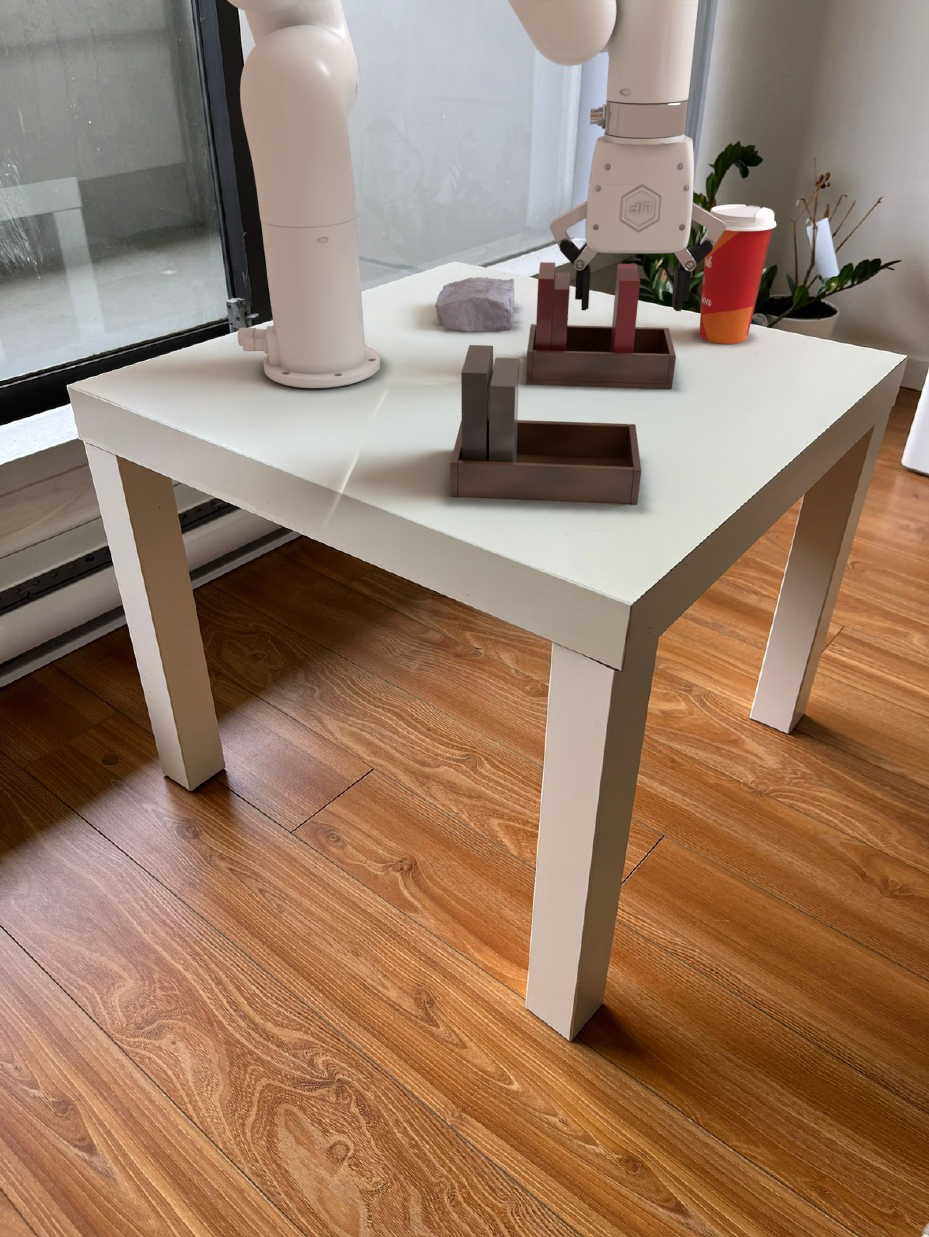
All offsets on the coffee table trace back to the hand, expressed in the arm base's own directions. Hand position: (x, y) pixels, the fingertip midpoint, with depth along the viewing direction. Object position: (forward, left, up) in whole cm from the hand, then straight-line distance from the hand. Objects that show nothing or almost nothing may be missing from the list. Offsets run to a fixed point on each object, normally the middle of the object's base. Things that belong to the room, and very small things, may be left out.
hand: (630, 306), depth 98 cm
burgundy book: (-1, 0, -6) cm, 6 cm away
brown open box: (-3, 0, -7) cm, 8 cm away
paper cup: (+12, +13, -7) cm, 19 cm away
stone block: (-18, +18, -7) cm, 26 cm away
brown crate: (-8, -27, -7) cm, 29 cm away
